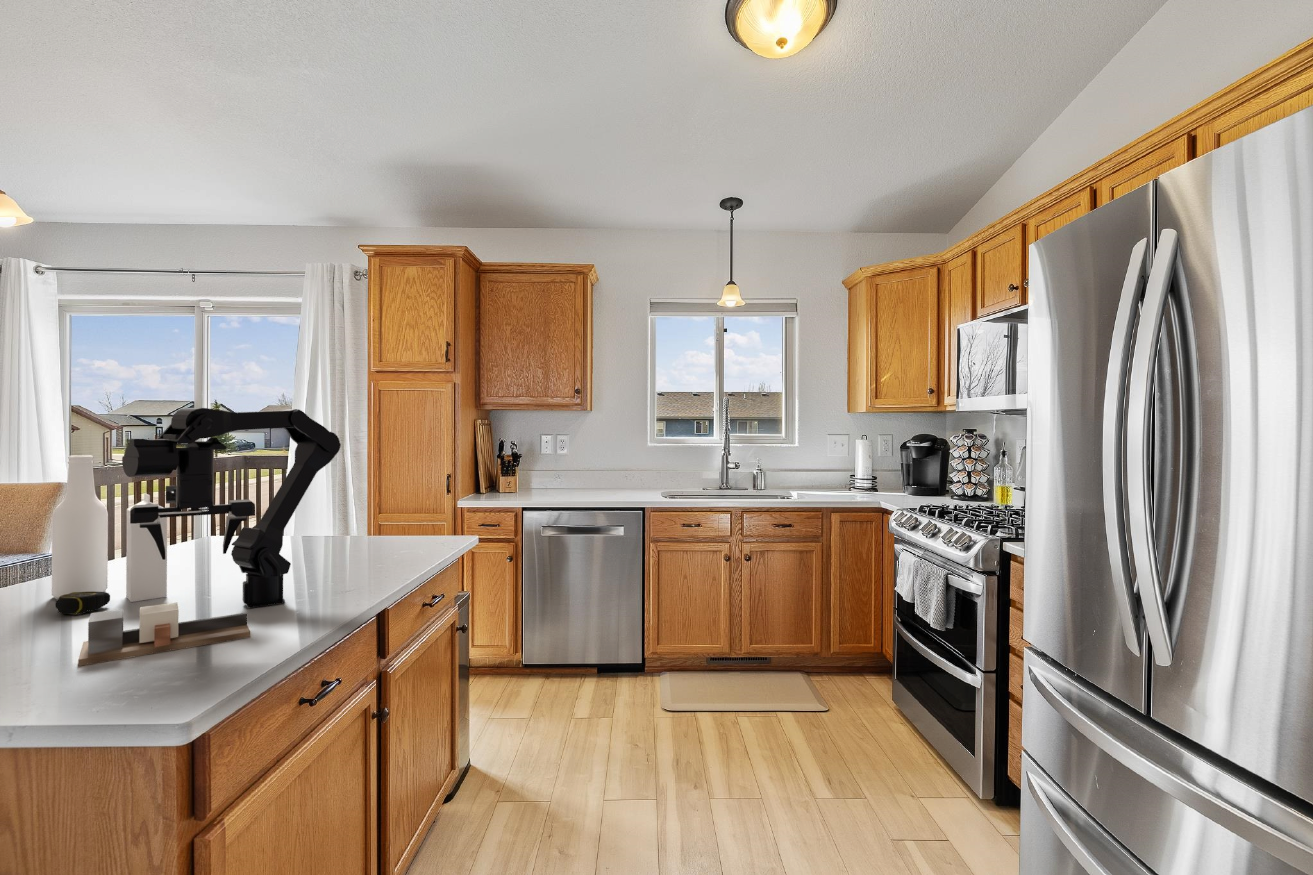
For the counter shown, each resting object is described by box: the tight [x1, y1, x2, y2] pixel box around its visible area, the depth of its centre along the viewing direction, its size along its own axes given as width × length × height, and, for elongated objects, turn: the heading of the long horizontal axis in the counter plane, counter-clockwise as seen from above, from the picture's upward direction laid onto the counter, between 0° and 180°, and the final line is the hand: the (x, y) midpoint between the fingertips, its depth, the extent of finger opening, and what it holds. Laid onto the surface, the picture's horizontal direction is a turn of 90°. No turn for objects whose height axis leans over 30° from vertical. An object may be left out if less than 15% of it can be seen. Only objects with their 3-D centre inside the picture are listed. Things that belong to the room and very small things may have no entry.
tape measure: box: [55, 591, 111, 616], centre depth 121 cm, size 7×7×4 cm
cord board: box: [77, 608, 251, 667], centre depth 105 cm, size 22×10×6 cm, turn 130°
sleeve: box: [139, 602, 180, 643], centre depth 104 cm, size 5×5×5 cm
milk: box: [125, 492, 168, 603], centre depth 132 cm, size 6×6×22 cm
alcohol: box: [51, 454, 109, 600], centre depth 133 cm, size 9×9×30 cm
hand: (194, 556), depth 117 cm, fingers open, 9 cm apart
